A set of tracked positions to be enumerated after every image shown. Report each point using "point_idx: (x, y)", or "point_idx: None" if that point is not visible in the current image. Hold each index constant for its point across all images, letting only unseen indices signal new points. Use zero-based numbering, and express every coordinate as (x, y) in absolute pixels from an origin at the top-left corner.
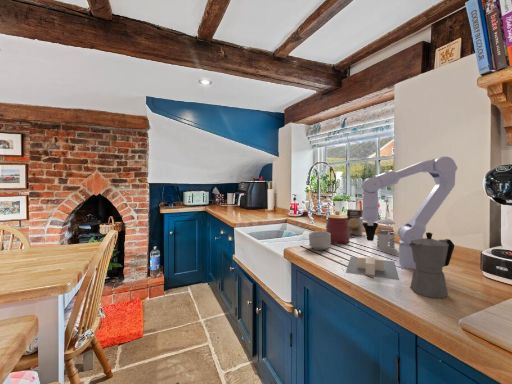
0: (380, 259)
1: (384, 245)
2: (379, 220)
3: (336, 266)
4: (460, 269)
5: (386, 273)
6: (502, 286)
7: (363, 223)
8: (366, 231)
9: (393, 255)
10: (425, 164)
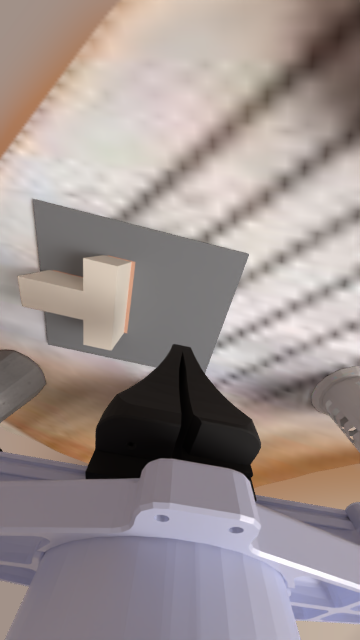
0: (90, 337)
1: (341, 400)
2: None
3: (108, 166)
4: None
5: None
6: None
7: (135, 423)
8: (151, 375)
9: (274, 392)
10: None
